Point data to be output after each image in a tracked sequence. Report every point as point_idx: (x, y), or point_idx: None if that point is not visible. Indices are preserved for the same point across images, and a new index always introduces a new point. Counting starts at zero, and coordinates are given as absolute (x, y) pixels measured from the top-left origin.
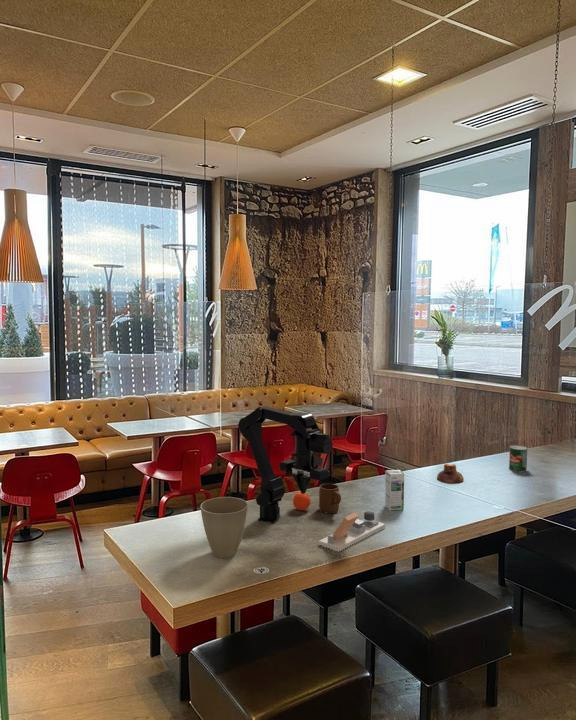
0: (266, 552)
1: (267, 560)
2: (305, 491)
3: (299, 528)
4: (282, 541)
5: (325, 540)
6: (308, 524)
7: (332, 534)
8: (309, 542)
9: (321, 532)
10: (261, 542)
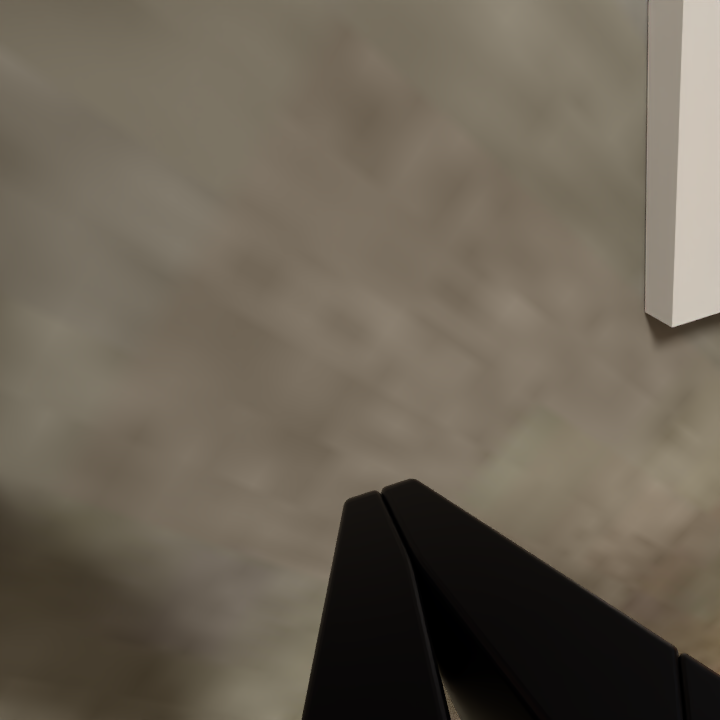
0: None
1: None
2: (455, 521)
3: (220, 256)
4: None
5: (711, 274)
6: (159, 77)
7: (682, 116)
8: (552, 351)
9: (459, 102)
10: None
